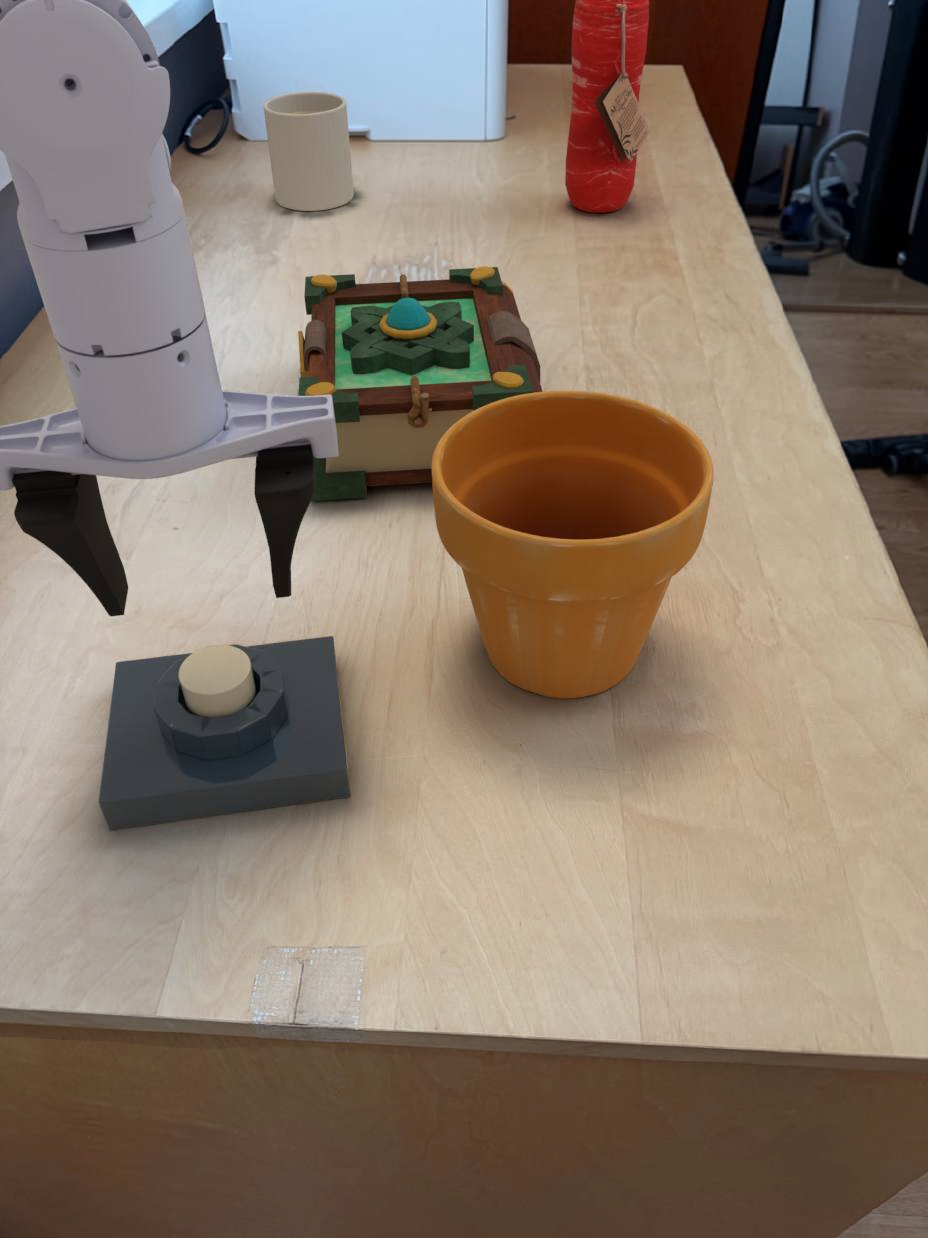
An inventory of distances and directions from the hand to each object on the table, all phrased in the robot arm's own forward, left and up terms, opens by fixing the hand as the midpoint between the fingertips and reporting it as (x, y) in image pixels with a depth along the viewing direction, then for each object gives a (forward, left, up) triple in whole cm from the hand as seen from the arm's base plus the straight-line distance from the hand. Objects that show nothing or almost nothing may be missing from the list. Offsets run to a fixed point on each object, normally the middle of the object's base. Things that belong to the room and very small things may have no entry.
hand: (201, 593), depth 49 cm
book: (+13, +34, -11) cm, 38 cm away
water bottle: (+40, +72, -11) cm, 83 cm away
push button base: (0, 0, -10) cm, 10 cm away
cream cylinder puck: (0, 0, -7) cm, 7 cm away
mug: (+10, +83, -11) cm, 84 cm away
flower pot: (+19, +4, -11) cm, 22 cm away
